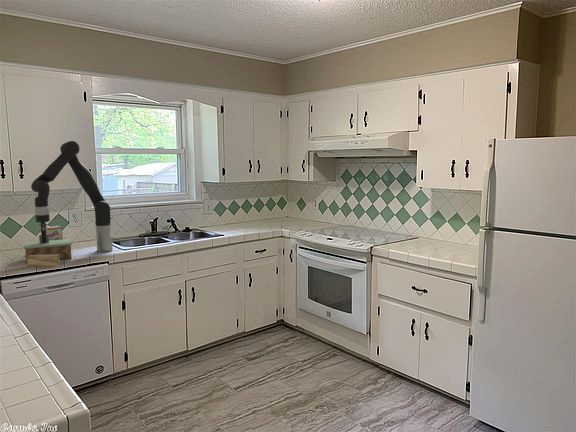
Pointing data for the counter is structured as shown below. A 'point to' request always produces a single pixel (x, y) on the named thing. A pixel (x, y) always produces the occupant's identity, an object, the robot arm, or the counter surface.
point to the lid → (47, 243)
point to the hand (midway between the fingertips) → (44, 241)
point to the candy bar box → (54, 233)
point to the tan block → (43, 260)
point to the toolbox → (51, 251)
